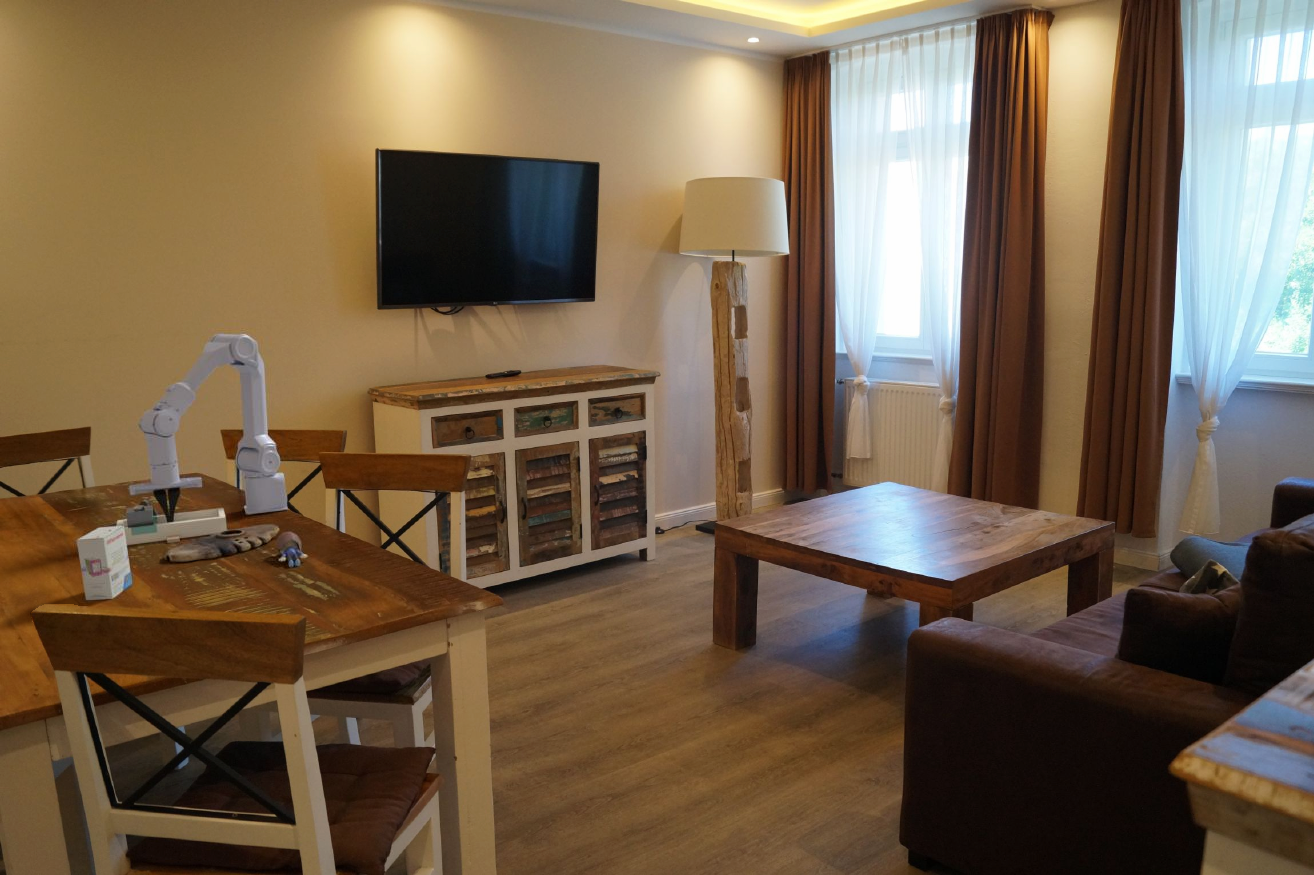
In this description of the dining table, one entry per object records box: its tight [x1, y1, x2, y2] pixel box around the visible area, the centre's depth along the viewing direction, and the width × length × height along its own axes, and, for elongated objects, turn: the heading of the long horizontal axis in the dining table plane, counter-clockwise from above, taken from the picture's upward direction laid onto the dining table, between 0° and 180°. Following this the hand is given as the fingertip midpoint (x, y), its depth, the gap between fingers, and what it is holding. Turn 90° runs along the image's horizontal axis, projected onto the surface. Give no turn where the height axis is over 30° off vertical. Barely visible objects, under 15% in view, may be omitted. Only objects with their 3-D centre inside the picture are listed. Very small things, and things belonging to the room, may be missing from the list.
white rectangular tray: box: [116, 507, 228, 546], centre depth 218 cm, size 22×13×4 cm, turn 117°
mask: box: [164, 524, 280, 563], centre depth 208 cm, size 15×3×25 cm
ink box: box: [76, 526, 133, 601], centre depth 180 cm, size 9×5×12 cm, turn 5°
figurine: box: [275, 531, 308, 568], centre depth 199 cm, size 6×5×12 cm
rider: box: [125, 504, 154, 528], centre depth 216 cm, size 5×5×5 cm
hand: (170, 521), depth 219 cm, fingers closed
